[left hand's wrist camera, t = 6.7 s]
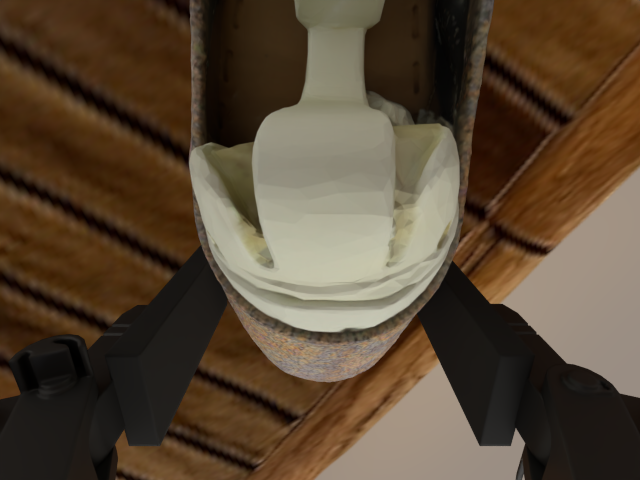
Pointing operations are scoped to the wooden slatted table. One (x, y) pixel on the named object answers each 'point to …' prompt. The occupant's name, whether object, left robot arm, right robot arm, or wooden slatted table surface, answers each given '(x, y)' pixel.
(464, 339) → the left robot arm
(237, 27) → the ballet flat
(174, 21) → the wooden slatted table surface
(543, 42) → the wooden slatted table surface
